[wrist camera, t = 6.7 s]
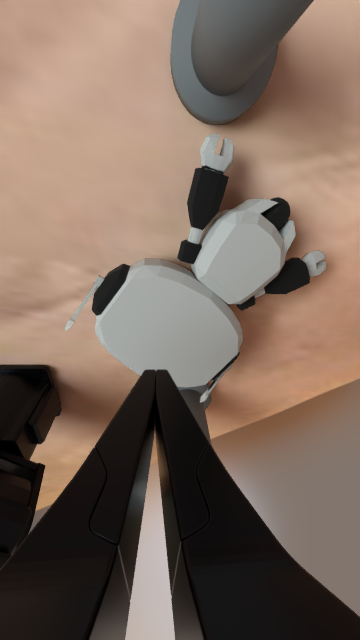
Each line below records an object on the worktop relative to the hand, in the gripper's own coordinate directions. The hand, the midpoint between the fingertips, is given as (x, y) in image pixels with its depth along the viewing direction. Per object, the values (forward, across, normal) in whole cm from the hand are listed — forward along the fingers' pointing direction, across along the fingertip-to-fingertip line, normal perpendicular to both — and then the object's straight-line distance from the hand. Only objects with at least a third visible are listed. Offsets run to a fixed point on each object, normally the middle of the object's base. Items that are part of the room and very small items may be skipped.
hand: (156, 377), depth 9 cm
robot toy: (+11, -3, 0) cm, 11 cm away
